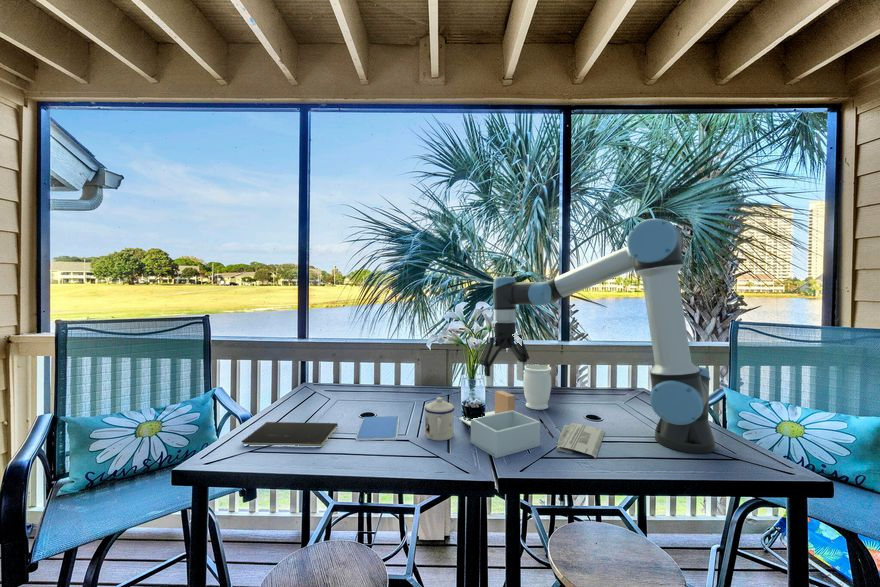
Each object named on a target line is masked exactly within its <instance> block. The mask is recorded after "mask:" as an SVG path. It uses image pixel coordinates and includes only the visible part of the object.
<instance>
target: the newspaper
mask: <svg viewBox="0 0 880 587" xmlns="http://www.w3.org/2000/svg"><path fill="white" fill-rule="evenodd" d="M605 433H606V430H604V429H601V428H597V427H594V426H590V425H586V424H580V423H575V422H573V423H570V424H569V425H568V424H567V425H566V424H564V425H563V428H562V430H561V433H560V434H559V437H558V441H557V443H558V445H557V446H556V447H555V449H556V451H557V452H564V453H567V454H573V453H574V451H576V452H581V453H583V454H587V455H590V456H592V457H593V459H597V456H598V454H599V450H600V448H601V445H602V442H603V439H604V437H605Z"/></svg>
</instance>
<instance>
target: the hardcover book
mask: <svg viewBox="0 0 880 587" xmlns="http://www.w3.org/2000/svg"><path fill="white" fill-rule="evenodd" d="M338 426H339V425H338V422H292V421H291V422H289V421H288V422H287V421H286V422H285V421H283V422H282V421H277V422H276V421H267V422H265V423H263V424H262V425H261V426H259V427H258V428H257V429H256V430H254V431H253V432H252V433H250V434H249V435H248V436H247V437H244V439H243V440H241V443H242V444H249V445H295V446H298V445H299V446H322V445H323V444H324V442H325V441H326V440H327V439H328V437H329V436H330V435H331V434H332V432H333V431H334V430H335V429H336V430H337V428H336V427H338ZM336 430H335V431H336ZM335 431H334V432H335ZM334 432H333V433H334ZM331 436H332V435H331ZM331 436H330V437H331ZM330 437H329V438H330ZM328 440H329V439H328ZM328 440H327V441H328ZM327 441H326V442H327ZM326 442H325V443H326ZM324 445H325V444H324ZM324 445H323V446H324ZM323 446H322V447H323Z"/></svg>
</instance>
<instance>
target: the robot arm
mask: <svg viewBox="0 0 880 587" xmlns="http://www.w3.org/2000/svg"><path fill="white" fill-rule="evenodd" d="M683 249H684V236H683V234H682V231H680V230H679V228H677V227H676V226H674V225H673V224H672V223H671V222H669V221H667V220H665V219H662V218H648V219H644V220H642V221H640V222H638V223H637V224H635V225H634V226H633V227H632V229H631V230H630V231H629V233H628V236H627V240H626V246H624V247H623V248H620V249H617V250H615V251H613V252H610V253H609V254H608V253H607V254H606V255H604V256H602V257H599V258H597V259H594V260H592V261H590V262H588V263H586V264H583V265H581V266H578V267H576V268H574V269H571V270H569V271H567V272H565V273H562V274H560V275H558V276H555V277H552V278H551V279H549V280H546V281H531V282H530V281H528V282H527V281H526V282H523V281H522V282H518V281H517V282H516V278H515V277H514V276H497V277H495V278H494V279H493V288H492V292H493V293H492V294H493V320H494V319H495V321H494V322H496V321H497V323H496V324H495V327H494V326H493V333H494V336H487V337H486V344H485V346H484V349H483V352H482V354H481V356H480V360H479V362H478V363H479V365H481V366H483V367H484V376H485V378H486V379H485V380H486V381H485V383H486V384H485V385H486V386H488V387H493V386H494V372H493V371H494V369H493V368H494V367H493V366H492V364H493V363H494V361H495V360H496V358H497V356H498V355H499V353H500V352H501V351H502V350H506V349H509V350H510V351H511V352H512V354H513V355H514V356H515V357H516V359H517V361H516V380H517V381H521V382H523V381H524V372H525V366H526V365H525V364H526V363H527V362H528V360H529V359H530V355H529V354H528V351H527V348H526V346H525V343H524V341H523V334H520V333H516V332H517V326H516V324H517V323H516V322H515V321H516V320H517V319H516V318H517V316H516V315H517V314H516V307H517V305H521V306H523V305H526V306H535V307H536V306H546V305H548V304H553V303H556V302H558V301H559V300H560V299H563V298H566V297H568V296H571V295H573V294H576V293H578V292H580V291H583V290H585V289H589V288H591V287H594V286H596V285H598V284H601V283H604V282H607V281H608V280H611V279H612V280H613V279H614V278H616V277H619V276H622V275H624V274H626V273H629V272H632V271H634V273H635V274H637V275H638V276H640V278H641V279H642V287H643V293H644V298H645V305H646V313H647V319H648V327H649V333H650V338H651V339H650V340H651V348H652V353H653V359H654V360H653V361H654V366H653V367H652V368H650V369H649V376H650V380H651V381H650V383H651V391H650V394H649V395H650V396H649V401H650V402H649V403H650V405H651V408H652V410H653V411H654V413H655V414H656V415H657V417H659V420H658V422H657V425H656V427H655V430H654V440H655V441H656V442H657V443H659V444H660V445H662V446H664V447H666V448H669V449H672V450H675V451H678V452H684V453H690V454H709V453H710V454H711V453H713V452H714V451H715V450H716V440H715V436H714V433H713V430H712V427H711V425H710V421H709V412H710V410H709V407H710V405H709V404H710V403H709V402H710V381H711V377H710V371H709V370H708V368H707V367H701V366H698V365H697V366H696V365H695V364H694V363H693V362H692V356H691V350H690V345H689V338H688V337H689V336H688V330H687V324H686V318H685V310H684V306H683V299H682V298H683V297H682V293H681V292H682V291H681V285H680V279H679V278H680V277H679V271H680V270H681V269H682V268H683V267H684V262H683V256H682V251H683ZM512 334H516V335H517V336H519V337H520V338H521V339H522V346H521V345H520V344H519V343H517V342H516V341H515V340H514V337H513V336H514V335H513V336H512Z"/></svg>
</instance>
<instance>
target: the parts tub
mask: <svg viewBox="0 0 880 587" xmlns="http://www.w3.org/2000/svg"><path fill="white" fill-rule="evenodd" d="M470 443H471V444H472V445H474V446H475V447H477V448H479V449H480V450H482V451H484V452H486V453H487V454H488V455H490V456H493V458H496V459H499V458H502V457H505V456H509V455H512V454H516V453H519V452H523V451H525V450H530V449H533V448H537V447H540V446H541V421H539V420H537V419H534V418H532V417H530V416H529V415H525V414H523V413H520V412H518V411H516V410H515V411H513V410H511V411H506V412H501V413H497V414H492V415H487V416H483V417H478V418H473V419H471V426H470Z"/></svg>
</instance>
